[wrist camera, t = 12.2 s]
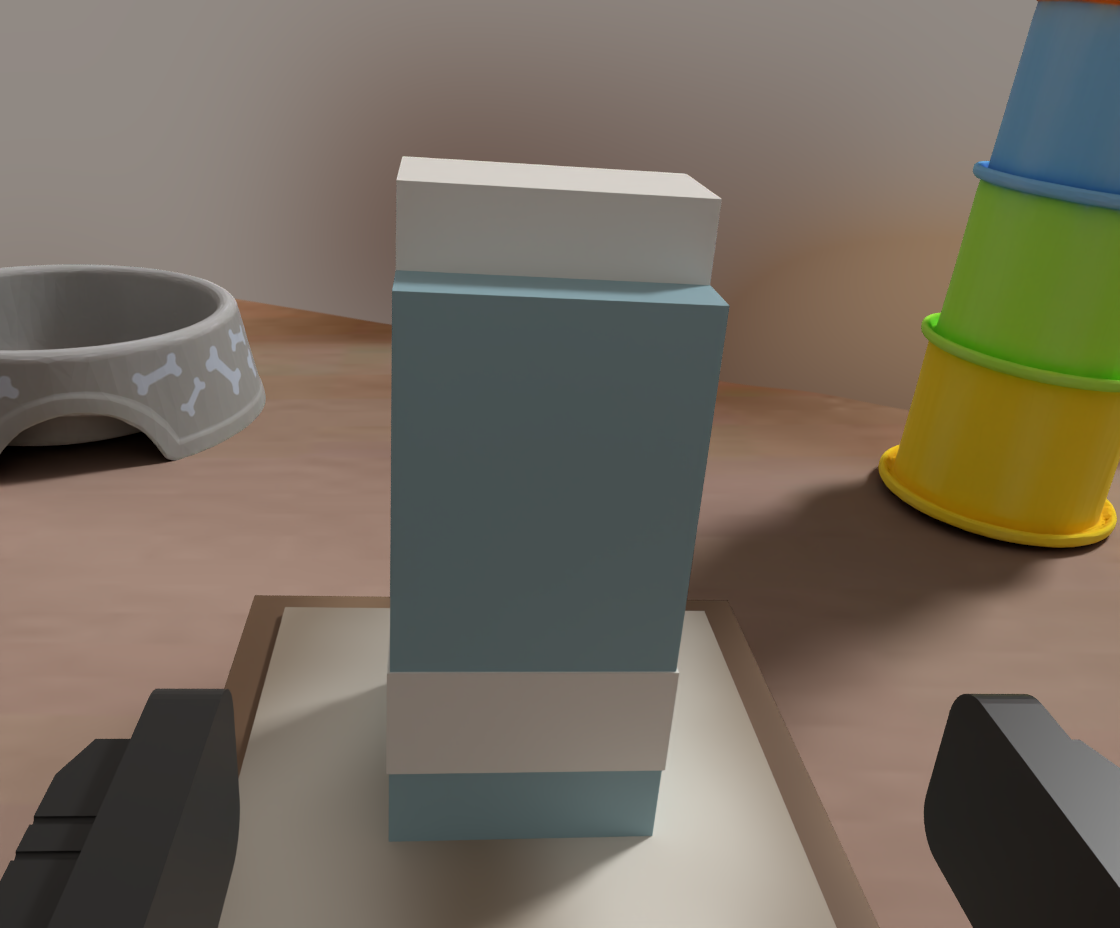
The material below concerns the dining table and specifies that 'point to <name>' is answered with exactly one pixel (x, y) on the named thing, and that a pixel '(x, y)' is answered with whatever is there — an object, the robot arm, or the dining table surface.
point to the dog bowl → (122, 358)
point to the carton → (543, 491)
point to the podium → (515, 864)
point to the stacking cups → (1031, 309)
